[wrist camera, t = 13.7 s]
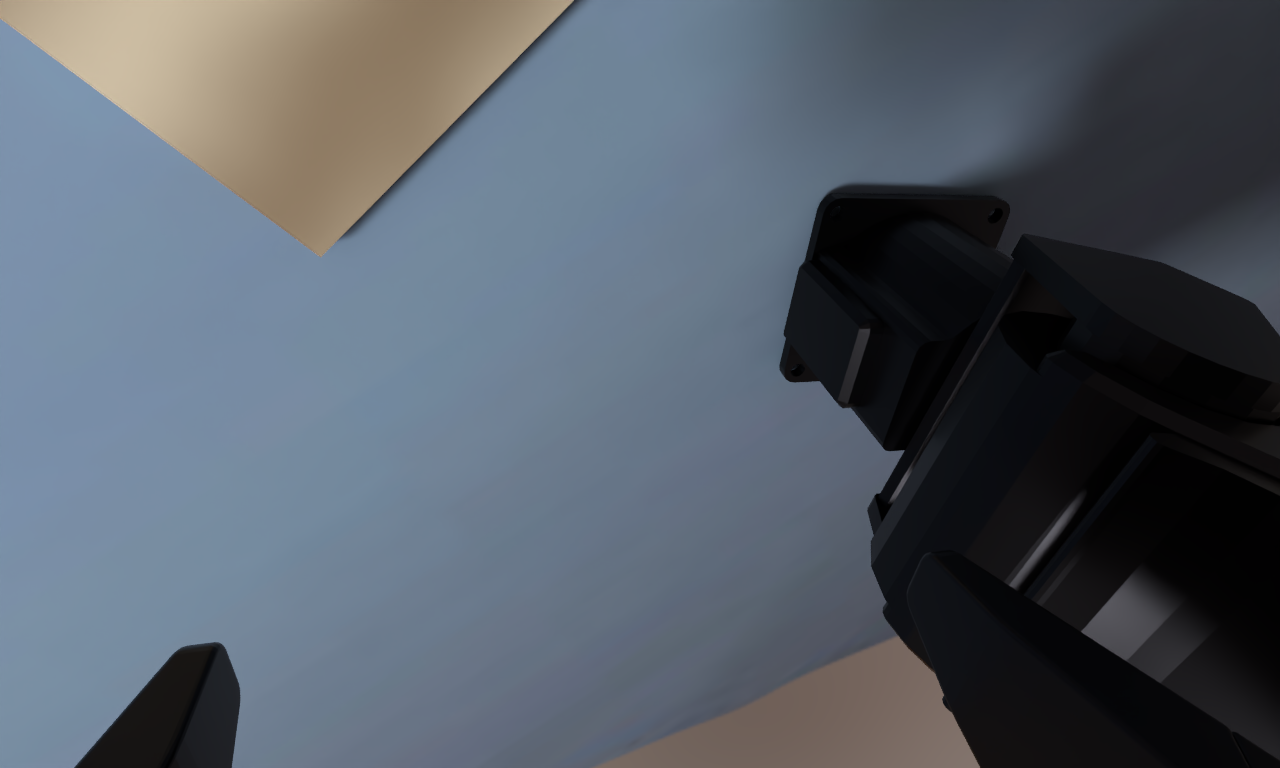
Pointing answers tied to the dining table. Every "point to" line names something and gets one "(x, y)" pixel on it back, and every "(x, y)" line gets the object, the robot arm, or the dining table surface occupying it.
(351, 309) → the dining table surface
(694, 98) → the dining table surface
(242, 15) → the plate
